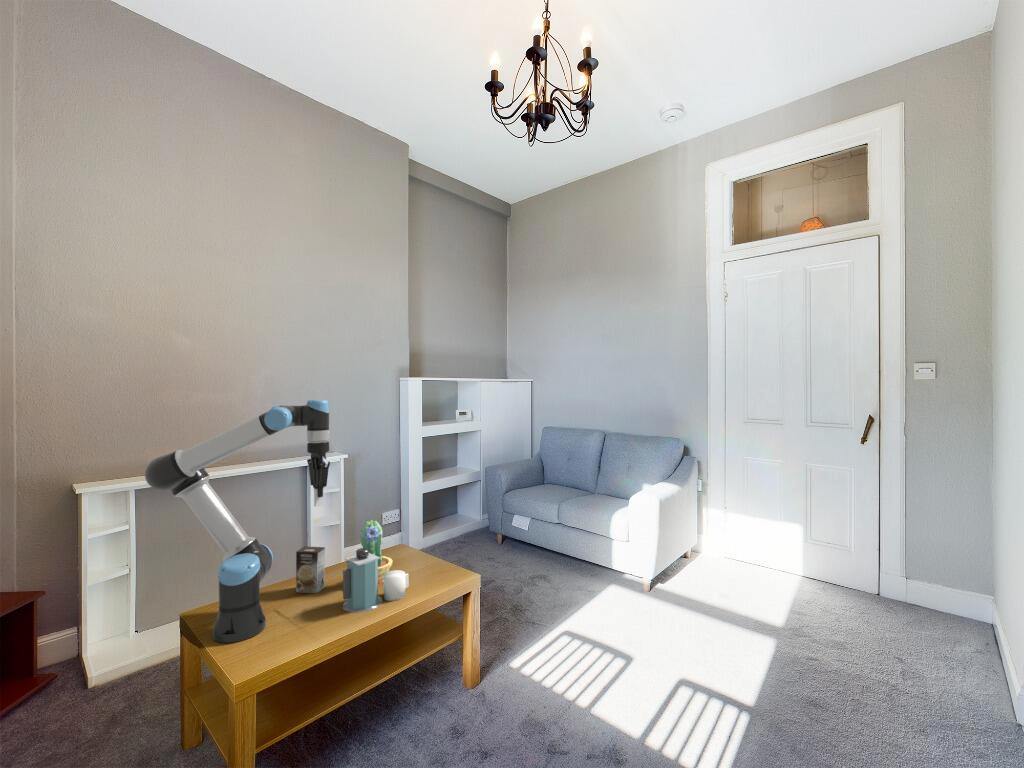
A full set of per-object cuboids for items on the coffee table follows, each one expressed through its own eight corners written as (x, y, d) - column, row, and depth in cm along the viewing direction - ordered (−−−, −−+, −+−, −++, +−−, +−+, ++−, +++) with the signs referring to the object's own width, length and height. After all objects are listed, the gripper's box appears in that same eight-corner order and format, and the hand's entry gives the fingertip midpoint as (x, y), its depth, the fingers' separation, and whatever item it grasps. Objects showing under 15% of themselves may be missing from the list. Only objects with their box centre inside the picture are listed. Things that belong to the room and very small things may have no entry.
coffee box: (295, 592, 182) (294, 551, 182) (304, 585, 188) (303, 546, 188) (317, 593, 181) (317, 552, 181) (325, 586, 187) (325, 546, 187)
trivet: (355, 618, 161) (355, 616, 161) (335, 606, 170) (335, 604, 170) (390, 604, 171) (390, 601, 171) (369, 593, 181) (369, 591, 181)
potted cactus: (345, 587, 186) (345, 524, 186) (368, 572, 201) (367, 514, 201) (379, 592, 181) (378, 528, 182) (399, 576, 196) (399, 517, 196)
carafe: (351, 614, 162) (351, 567, 162) (336, 606, 168) (336, 560, 169) (382, 602, 171) (382, 557, 171) (367, 594, 178) (367, 551, 178)
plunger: (359, 601, 165) (358, 555, 166) (347, 595, 170) (347, 550, 170) (377, 594, 171) (377, 549, 171) (366, 588, 176) (366, 545, 176)
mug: (392, 605, 171) (391, 580, 171) (379, 598, 176) (379, 574, 176) (414, 595, 179) (414, 571, 179) (401, 589, 184) (401, 566, 184)
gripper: (336, 441, 171) (337, 506, 171) (319, 439, 179) (319, 500, 179) (316, 443, 165) (317, 510, 165) (300, 441, 174) (300, 504, 173)
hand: (318, 505), depth 172 cm, fingers closed
